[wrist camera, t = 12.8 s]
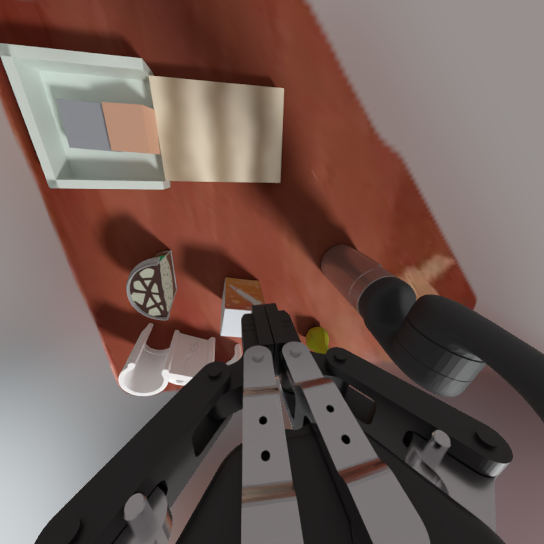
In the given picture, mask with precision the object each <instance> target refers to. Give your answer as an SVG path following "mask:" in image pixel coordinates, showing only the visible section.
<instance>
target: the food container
mask: <svg viewBox="0 0 544 544" xmlns="http://www.w3.org/2000/svg"><path fill="white" fill-rule="evenodd" d="M126 290H127V296H128V299H129V301H130V303H131V304H132V306H133V307H134V308H135V309H136V310H137V311H138V312H140V313H141V314H143V315H145V316H147V317H149V318H152V319H156V320H167V319H168V318H169V317H170V315H169V313H170V310H171V307H172V303H173V300H174V297H175V294H176V291H177V286H176V279H175V272H174V265H173V258H172V251H171V250H165V251H162V252H160V253H158V254H156V255H155V256H154V257H153V258H151V259H147V260H145V261H142V262H141V263H139V264H138V265H137V266H135V267H134V269H133V270H132V271H131V273H130V275H129V278H128V281H127V285H126Z"/></svg>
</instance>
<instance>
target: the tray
mask: <svg viewBox="0 0 544 544" xmlns="http://www.w3.org/2000/svg"><path fill="white" fill-rule="evenodd" d="M0 57H1V59H2V62H3V65H4V67H5V70H6V73H7V75H8V78H9V81H10V83H11V86H12V89H13V91H14V94H15V97H16V99H17V102H18V105H19V107H20V110H21V113H22V115H23V118H24V121H25V123H26V126H27V129H28V131H29V134H30V137H31V139H32V142H33V145H34V147H35V150H36V153H37V155H38V158H39V161H40V164H41V166H42V169H43V172H44V174H45V177H46V180H47V182H48V185H49V188H89V189H166V188H169V187H171V186H170V181H166V180H165V174H164V168H163V162H162V156H161V150H160V154H147V153H134V152H112V151H100V150H88V149H78V148H70V147H69V144H68V140H67V136H66V133H65V129H64V125H63V122H62V118H61V114H60V111H59V107H58V103H57V99H56V98H60V99H69V100H77V101H85V102H94V103H101V102H109V103H124V104H140V105H144V106H147V107H149V108H152V109H154V107H153V101H152V94H151V88H150V82H149V76H148V75H150V76H153V72H152V71H151V69H150V68H149V67H148V66H147V64H146V63H145V62H144V61H143V59H142V58H134V57H124V56H115V55H106V54H97V53H87V52H78V51H69V50H59V49H50V48H41V47H32V46H22V45H13V44H4V43H0ZM157 132H158V131H157ZM158 140H159V137H158ZM159 147H160V143H159Z"/></svg>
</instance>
